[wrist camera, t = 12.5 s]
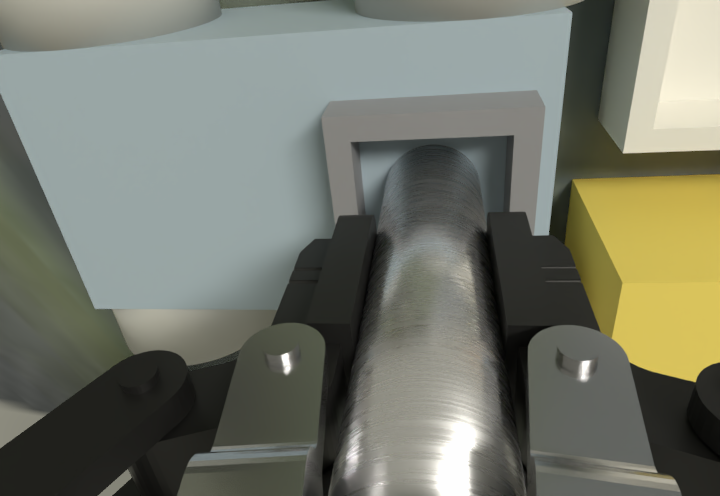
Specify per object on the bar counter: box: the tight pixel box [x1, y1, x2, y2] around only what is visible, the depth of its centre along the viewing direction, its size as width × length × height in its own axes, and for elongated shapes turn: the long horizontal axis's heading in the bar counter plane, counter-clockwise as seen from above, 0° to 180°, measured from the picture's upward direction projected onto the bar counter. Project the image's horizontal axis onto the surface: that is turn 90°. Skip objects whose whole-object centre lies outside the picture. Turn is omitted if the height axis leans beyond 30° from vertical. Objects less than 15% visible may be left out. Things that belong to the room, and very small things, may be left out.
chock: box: [565, 174, 720, 382], centre depth 18 cm, size 6×5×6 cm
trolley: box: [0, 0, 584, 366], centre depth 17 cm, size 16×13×7 cm
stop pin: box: [328, 144, 527, 496], centre depth 9 cm, size 3×3×11 cm
